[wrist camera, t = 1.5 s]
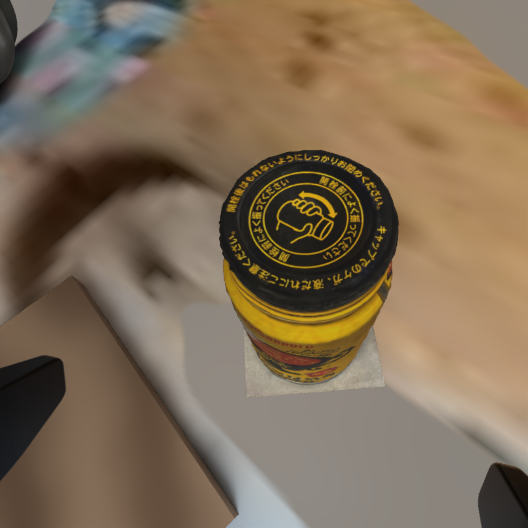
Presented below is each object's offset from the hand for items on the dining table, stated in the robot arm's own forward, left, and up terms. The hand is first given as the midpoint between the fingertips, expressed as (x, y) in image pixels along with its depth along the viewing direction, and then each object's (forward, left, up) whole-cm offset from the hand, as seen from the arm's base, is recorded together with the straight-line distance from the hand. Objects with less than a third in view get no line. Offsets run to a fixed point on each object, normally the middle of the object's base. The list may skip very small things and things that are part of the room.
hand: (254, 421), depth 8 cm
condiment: (+5, +4, -13) cm, 14 cm away
